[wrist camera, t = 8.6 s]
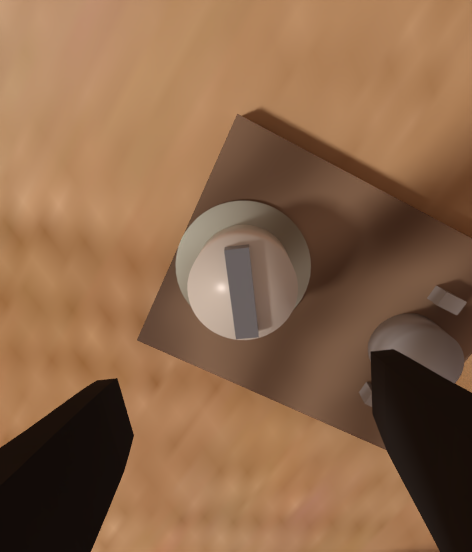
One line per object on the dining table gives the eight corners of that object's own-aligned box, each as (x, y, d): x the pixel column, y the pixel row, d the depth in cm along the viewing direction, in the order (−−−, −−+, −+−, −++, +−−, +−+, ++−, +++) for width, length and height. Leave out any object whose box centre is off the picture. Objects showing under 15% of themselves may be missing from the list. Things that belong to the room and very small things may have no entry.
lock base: (521, 267, 18) (573, 286, 15) (384, 439, 22) (405, 480, 19) (238, 117, 16) (235, 105, 13) (142, 331, 20) (124, 358, 17)
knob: (292, 308, 18) (303, 341, 14) (204, 317, 18) (194, 351, 15) (286, 219, 16) (296, 232, 13) (190, 230, 17) (175, 245, 13)
